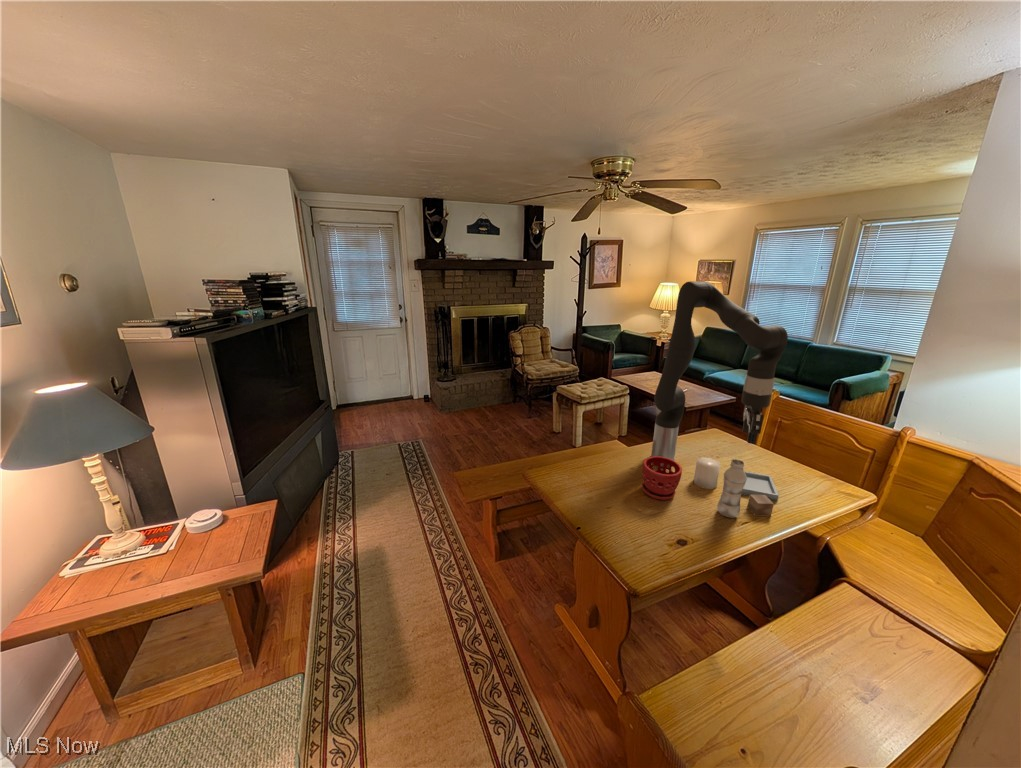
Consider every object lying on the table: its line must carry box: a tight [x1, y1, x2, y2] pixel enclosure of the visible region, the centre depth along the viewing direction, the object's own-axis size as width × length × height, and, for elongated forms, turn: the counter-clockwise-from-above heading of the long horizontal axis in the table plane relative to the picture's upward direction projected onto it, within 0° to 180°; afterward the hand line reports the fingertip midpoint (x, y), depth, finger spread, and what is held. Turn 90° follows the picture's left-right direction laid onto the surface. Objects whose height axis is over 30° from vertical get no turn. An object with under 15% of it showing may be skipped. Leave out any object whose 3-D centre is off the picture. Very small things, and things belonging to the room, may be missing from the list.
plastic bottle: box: [717, 458, 747, 519], centre depth 123 cm, size 6×7×20 cm
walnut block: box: [747, 494, 775, 517], centre depth 127 cm, size 5×5×5 cm
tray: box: [741, 470, 780, 502], centre depth 141 cm, size 14×14×2 cm
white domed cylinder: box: [693, 456, 721, 490], centre depth 143 cm, size 8×8×9 cm
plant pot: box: [641, 456, 683, 501], centre depth 136 cm, size 13×13×12 cm
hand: (748, 437), depth 121 cm, fingers open, 8 cm apart
